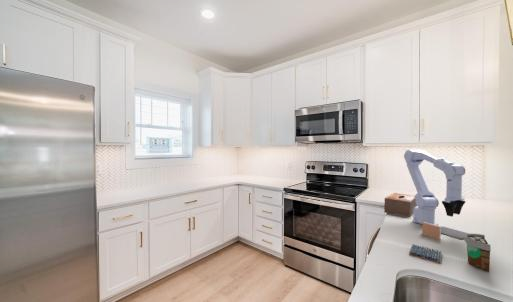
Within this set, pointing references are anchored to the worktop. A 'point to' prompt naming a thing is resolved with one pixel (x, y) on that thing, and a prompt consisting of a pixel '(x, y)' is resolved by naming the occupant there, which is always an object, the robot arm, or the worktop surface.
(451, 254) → the worktop surface
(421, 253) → the spiky blue-grey pad
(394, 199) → the tissue box cover
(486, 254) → the food container
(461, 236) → the mat
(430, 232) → the tile
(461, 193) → the robot arm
